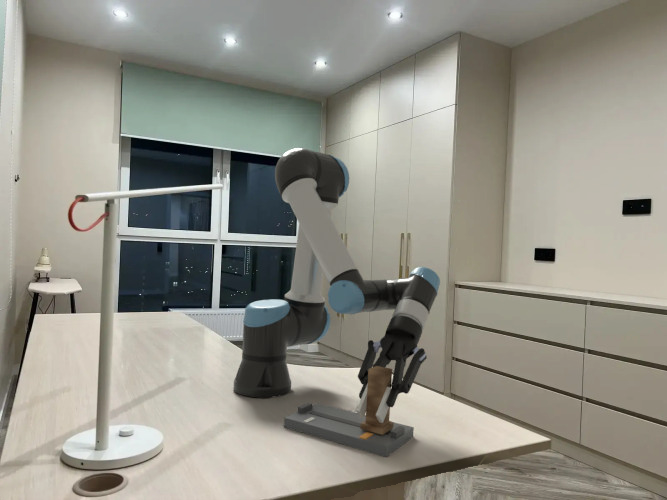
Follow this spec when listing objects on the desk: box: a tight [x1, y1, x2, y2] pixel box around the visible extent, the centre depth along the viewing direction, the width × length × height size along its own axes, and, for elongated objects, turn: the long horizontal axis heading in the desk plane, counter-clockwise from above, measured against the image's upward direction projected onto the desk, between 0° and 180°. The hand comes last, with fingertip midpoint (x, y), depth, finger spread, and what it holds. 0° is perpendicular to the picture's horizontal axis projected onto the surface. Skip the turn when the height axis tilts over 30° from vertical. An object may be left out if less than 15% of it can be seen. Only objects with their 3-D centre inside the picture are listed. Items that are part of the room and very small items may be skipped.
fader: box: [360, 366, 394, 435], centre depth 104 cm, size 5×5×12 cm
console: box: [283, 402, 415, 458], centre depth 107 cm, size 24×13×3 cm, turn 59°
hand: (369, 416), depth 100 cm, fingers closed on fader, 4 cm apart
